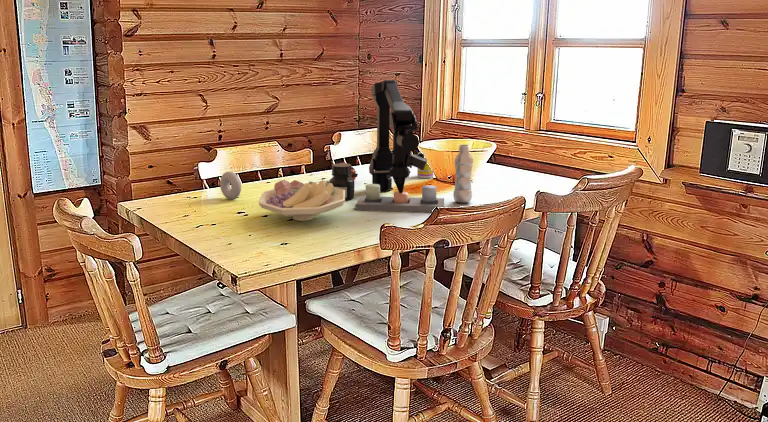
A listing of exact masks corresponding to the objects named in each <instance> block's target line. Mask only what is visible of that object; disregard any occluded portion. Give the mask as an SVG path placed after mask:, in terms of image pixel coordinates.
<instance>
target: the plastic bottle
mask: <svg viewBox="0 0 768 422" xmlns="http://www.w3.org/2000/svg"><path fill="white" fill-rule="evenodd" d="M470 148H471V147H470V145H469V144H459V145H458V151H459V152H458V153H457V155H456V156H455V158H454V168H455V181H454V182H455V183H454V190H453V194H452V197H453V200H454V202H457V203H461V204H464V203H470V202H471V201H472V197H473V193H472V192H473V191H472V181H471V180H472V179H471V178H472V170H473V164H474V159H473V156H472V155H471V154H470V150H471V149H470Z"/></svg>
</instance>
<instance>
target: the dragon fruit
mask: <svg viewBox="0 0 768 422" xmlns="http://www.w3.org/2000/svg"><path fill="white" fill-rule="evenodd" d="M344 163H345V164H348V163H347V162H344ZM358 175H359V174H358V173H357V171H356V169H355V167H353V166H352V165H351V176H350V177H352V178H353V179H354V181H355V180H356V178H357V177H358Z"/></svg>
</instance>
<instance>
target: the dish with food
mask: <svg viewBox="0 0 768 422" xmlns="http://www.w3.org/2000/svg"><path fill="white" fill-rule="evenodd" d="M345 201H346V200H345V190H343V189H339V188H335V187H333V184H332V183H329V182H326V181H325V180H324V179H322V180H320V181H319V183H317V182H316V181H315V182H314V181H308V182H307V183H303V182H300V181H299V180H296V179H293V180H292V181H291V182H290V181H288V180H286V179H282V180H279V181H277V182H275V183H274V187H273V189H270V190H266V191H263V192H262V193H261V195H260V198H259V200H258V201H257V203H258V204H259V207H260V208H261V209H264V210H267V211H270V212H272V213H273V212H274V213H277V214H280V215H283V216H287V217H293V218H292V219H293V220H295V221H297V222H299V221H300V222H301V221H302V222H303V221H310V220H313V219H314V218H315V216H316V215H317V216H318V215H319V214H323V213H326V212H329V211H333V210H335V209H337V208H340V207H341V206H343V204H344V203H345Z"/></svg>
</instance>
